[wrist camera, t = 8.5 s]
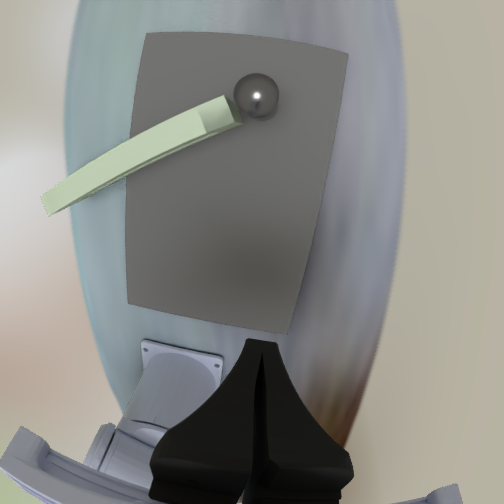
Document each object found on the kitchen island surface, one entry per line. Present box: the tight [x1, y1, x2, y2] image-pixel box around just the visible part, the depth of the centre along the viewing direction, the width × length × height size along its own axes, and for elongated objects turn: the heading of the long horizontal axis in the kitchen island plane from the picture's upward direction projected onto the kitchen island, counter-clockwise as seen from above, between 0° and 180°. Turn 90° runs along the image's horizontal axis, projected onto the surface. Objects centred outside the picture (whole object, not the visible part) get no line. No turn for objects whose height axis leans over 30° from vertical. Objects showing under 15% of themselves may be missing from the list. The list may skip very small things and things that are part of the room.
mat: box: [125, 32, 348, 335], centre depth 20 cm, size 22×14×1 cm, turn 171°
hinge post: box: [233, 73, 279, 121], centre depth 15 cm, size 2×2×7 cm
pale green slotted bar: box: [41, 95, 244, 216], centre depth 17 cm, size 14×2×5 cm, turn 111°
